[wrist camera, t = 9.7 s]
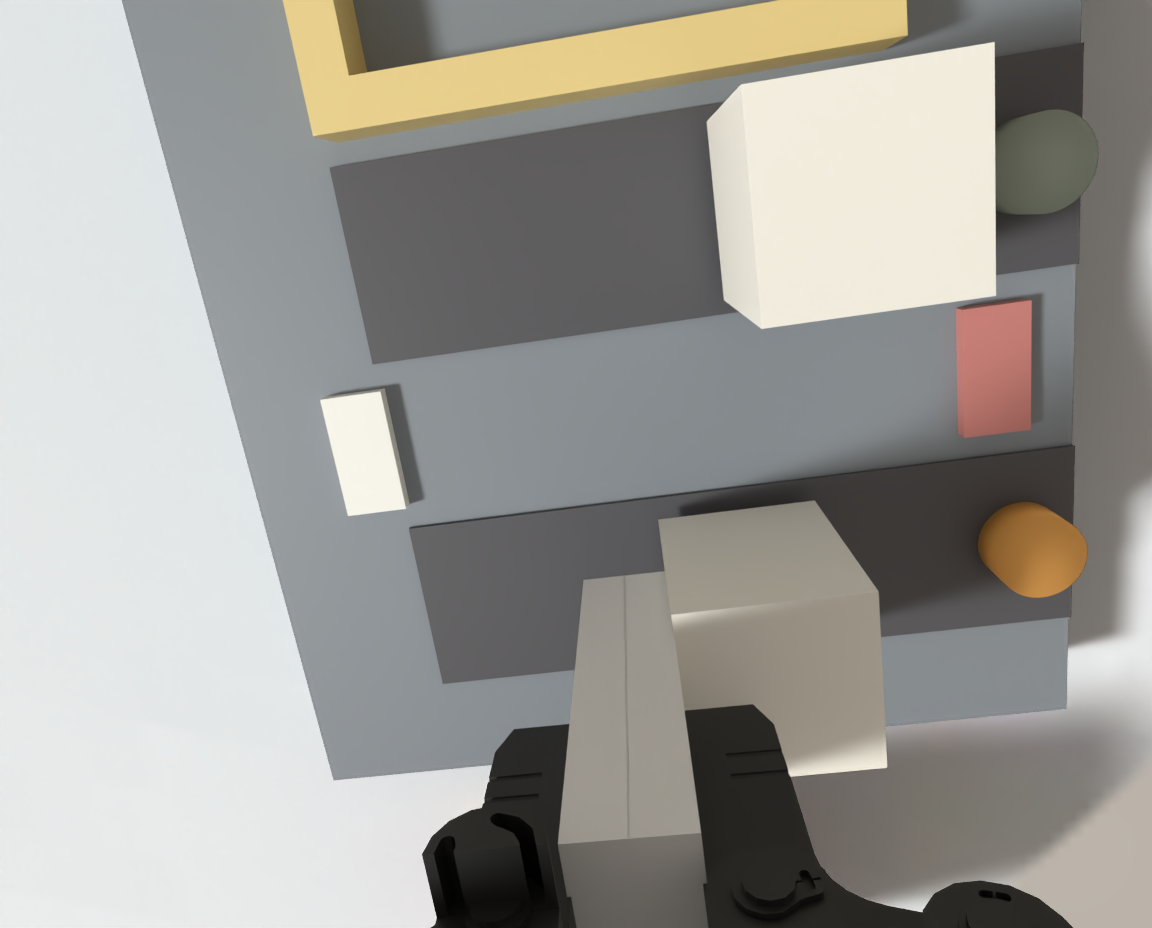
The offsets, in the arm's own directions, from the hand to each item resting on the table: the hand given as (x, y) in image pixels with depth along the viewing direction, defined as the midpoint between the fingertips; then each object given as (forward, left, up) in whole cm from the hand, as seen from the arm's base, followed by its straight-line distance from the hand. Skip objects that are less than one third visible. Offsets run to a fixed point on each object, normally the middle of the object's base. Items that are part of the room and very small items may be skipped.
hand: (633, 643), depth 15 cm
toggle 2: (0, +2, -2) cm, 3 cm away
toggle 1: (-7, +4, -2) cm, 8 cm away
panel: (-7, +1, -4) cm, 8 cm away
